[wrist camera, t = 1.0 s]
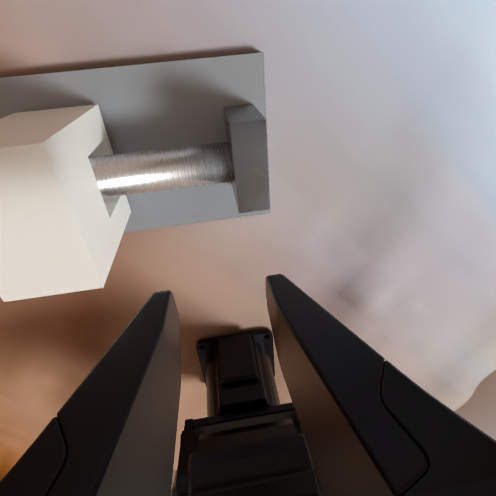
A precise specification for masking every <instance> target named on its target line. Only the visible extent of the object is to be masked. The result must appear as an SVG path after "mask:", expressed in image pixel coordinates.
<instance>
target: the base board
mask: <svg viewBox="0 0 496 496" xmlns="http://www.w3.org/2000/svg"><path fill="white" fill-rule="evenodd" d="M95 104H98V106H99V109H100V113H101V116H102V119H103V122H104V126H105V129H106V132H107V135H108V138H109V142H110V145H111V148H112V151H113V155H114V154H122V153H131V152H140V151H148V150H157V149H165V148H174V147H183V146H191V145H200V144H208V143H217V142H226V141H227V137H226V128H225V120H224V111H223V107H227V106H236V105H245V104H253V105H254V106H255V107H256V108H257V109H258V110H259V112H260V113H261V114H262V115H263V116H264V117H265V119H266V100H265V77H264V54H263V52H256V53H246V54H236V55H226V56H215V57H205V58H195V59H184V60H174V61H164V62H154V63H143V64H133V65H123V66H112V67H102V68H92V69H82V70H71V71H61V72H51V73H40V74H30V75H20V76H10V77H0V119H1V118H4V117H6V116H8V115H11V114H13V113H19V112H28V111H38V110H47V109H57V108H66V107H76V106H85V105H95ZM266 133H267V123H266ZM267 156H268V146H267ZM268 179H269V170H268ZM126 197H127V200H128V203H129V206H130V209H131V213H130V216H129V219H128V222H127V224H126V227H125V230H124V232H132V231H139V230H147V229H154V228H162V227H169V226H177V225H184V224H192V223H199V222H207V221H214V220H222V219H229V218H237V217H244V216H252V215H260V214H267V213H270V209H269V210H261V211H254V212H246V213H239V212H238V208H237V204H236V200H235V196H234V192H233V188H232V182H227V183H219V184H211V185H203V186H195V187H187V188H179V189H171V190H163V191H155V192H147V193H139V194H131V195H126ZM269 201H270V193H269Z"/></svg>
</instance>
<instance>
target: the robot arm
mask: <svg viewBox="0 0 496 496" xmlns="http://www.w3.org/2000/svg"><path fill="white" fill-rule="evenodd" d="M266 297H267V307H268V312H269V317H270V322H271V326H272V331H273V335H272V331H271V330H269V329H265V330H258V331H252V332H246V333H239V334H233V335H227V336H220V337H214V338H208V339H202V340H199V341H198V342H197V352H198V356H199V360H200V364H201V368H202V372H203V376H204V380H205V384H206V387H207V415H208V417H206V418H200V419H195V420H193V419H187V420H185V426H184V431H182V434H181V442H180V453H179V461H178V468H177V471H176V475H175V479H174V483H173V487H172V493H171V485H172V473H173V463H174V452H175V442H176V431H177V420H178V409H179V399H180V387H181V357H180V324H179V315H178V311H177V308H176V304H175V300H174V297H173V294H172V292H171V291H169V290H167V291H161V292H155V293H154V294H153V295H152V296H151V297H150V298H149V299H148V301H147V302H146V303H145V304H144V306H143V307H142V308H141V309H140V311H139V312H138V313H137V314H136V316H135V317H134V318H133V319H132V321H131V322H130V323H129V324H128V326H127V327H126V328H125V329H124V331H123V332H122V333H121V334H120V336H119V337H118V338H117V339H116V341H115V342H114V343H113V344H112V346H111V347H110V348H109V349H108V351H107V352H106V353H105V354H104V356H103V357H102V358H101V359H100V361H99V362H98V363H97V364H96V366H95V367H94V368H93V369H92V371H91V372H90V373H89V374H88V375H87V377H86V378H85V379H84V380H83V382H82V383H81V384H80V385H79V387H78V388H77V389H76V390H75V392H74V393H73V394H72V395H71V397H70V398H69V399H68V400H67V402H66V403H65V404H64V405H63V407H62V408H61V409H60V410H59V412H58V413H57V417H54V418H53V419H52V420H51V421H50V423H49V424H48V425H47V426H46V428H45V429H44V430H43V431H42V433H41V434H40V435H39V436H38V438H37V439H36V440H35V441H34V442H33V444H32V445H31V446H30V447H29V448H28V449H27V451H26V452H25V453H24V454H23V455H22V457H21V458H20V459H19V460H18V461H17V463H16V464H15V465H14V466H13V467H12V468H11V470H10V471H9V472H8V473H7V474H6V475H5V476H4V477H3V479H2V480H1V481H0V496H171V494H172V496H496V440H494V439H493V438H491V437H490V436H488V435H487V434H485V433H484V432H483V431H481V430H480V429H478V428H477V427H475V426H474V425H472V424H471V423H469V422H468V421H467V420H465V419H464V418H462V417H461V416H459V415H458V414H456V413H455V412H454V411H452V410H451V409H450V408H448V407H447V406H445V405H444V404H443V403H441V402H440V401H438V400H437V399H436V398H434V397H433V396H431V395H430V394H429V393H427V392H426V391H425V390H423V389H422V388H421V387H420V386H418V385H417V384H416V383H415V382H413V381H412V380H411V379H409V378H408V377H407V376H406V375H404V374H403V373H402V372H401V371H399V370H398V369H397V368H396V367H395V366H393V365H392V364H391V363H390V362H388V361H385V362H384V360H385V359H384V358H383V357H382V356H381V355H380V354H379V353H377V352H376V351H375V350H374V349H372V348H371V347H370V346H369V345H368V344H366V343H365V342H364V341H363V340H362V339H360V338H359V337H358V336H357V335H355V334H354V333H353V332H352V331H351V330H349V329H348V328H347V327H346V326H345V325H343V324H342V323H341V322H340V321H338V320H337V319H336V318H335V317H334V316H332V315H331V314H330V313H329V312H328V311H326V310H325V309H324V308H323V307H321V306H320V305H319V304H318V303H317V302H315V301H314V300H313V299H312V298H311V297H309V296H308V295H307V294H306V293H304V292H303V291H302V290H301V289H300V288H298V287H297V286H296V285H295V284H294V283H292V282H291V281H290V280H289V279H287V278H286V277H285V276H284V275H282V274H276V275H270V276H267V277H266ZM273 336H274V341H275V345H276V350H277V355H278V359H279V363H280V366H281V370H282V373H283V376H284V379H285V382H286V385H287V387H288V390H289V393H290V396H291V399H292V403H286V404H280V400H279V396H278V392H277V387H276V383H275V379H274V376H275V370H274V350H273Z"/></svg>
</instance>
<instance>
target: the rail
mask: <svg viewBox="0 0 496 496" xmlns="http://www.w3.org/2000/svg"><path fill="white" fill-rule="evenodd" d="M223 111H224V120H225V128H226V137H227V141H226V142H217V143H208V144H200V145H191V146H183V147H174V148H165V149H157V150H148V151H140V152H131V153H122V154H114V155H105V156H96V157H88V158H89V161H90V164H91V167H92V169H93V172H94V175H95V178H96V181H97V184H98V186H99V189H100V192H101V195H102V198H107V197H115V196H123V195H131V194H139V193H147V192H155V191H163V190H171V189H179V188H187V187H195V186H203V185H211V184H219V183H227V182H232V188H233V192H234V196H235V200H236V204H237V208H238V212H239V213H246V212H254V211H261V210H269V209H270V201H269V179H268V156H267V133H266V119H265V117H264V116H263V115H262V114H261V113H260V112H259V110H258V109H257V108H256V107H255V106H254V105H253V104H245V105H236V106H227V107H223Z"/></svg>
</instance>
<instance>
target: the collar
mask: <svg viewBox="0 0 496 496" xmlns="http://www.w3.org/2000/svg"><path fill="white" fill-rule="evenodd" d="M105 155H113V151H112V148H111V145H110V142H109V138H108V135H107V132H106V129H105V126H104V122H103V119H102V116H101V113H100V109H99V106H98V104H95V105H85V106H76V107H66V108H57V109H47V110H38V111H28V112H19V113H13V114H11V115H8V116H6V117H4V118H1V119H0V297H1V299H2V300H3V302H8V301H15V300H22V299H29V298H36V297H42V296H49V295H56V294H63V293H70V292H77V291H84V290H91V289H98V288H103V287H104V285H105V282H106V279H107V276H108V274H109V271H110V268H111V265H112V263H113V260H114V257H115V254H116V252H117V249H118V246H119V244H120V241H121V238H122V235H123V233H124V230H125V227H126V224H127V222H128V219H129V216H130V213H131V209H130V206H129V203H128V200H127V197H126V195H123V196H115V197H107V198H102V195H101V192H100V189H99V186H98V184H97V181H96V178H95V175H94V172H93V169H92V167H91V164H90V161H89V158H88V157H96V156H105Z"/></svg>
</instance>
